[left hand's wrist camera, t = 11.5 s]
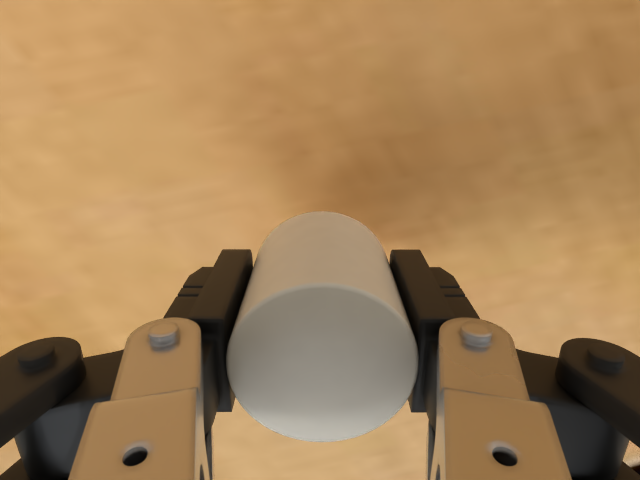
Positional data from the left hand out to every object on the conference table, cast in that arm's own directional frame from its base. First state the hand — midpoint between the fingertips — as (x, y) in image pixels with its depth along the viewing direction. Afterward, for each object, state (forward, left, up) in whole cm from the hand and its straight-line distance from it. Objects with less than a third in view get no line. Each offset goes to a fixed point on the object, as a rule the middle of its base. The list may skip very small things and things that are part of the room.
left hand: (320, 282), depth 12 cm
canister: (0, 0, -1) cm, 1 cm away
